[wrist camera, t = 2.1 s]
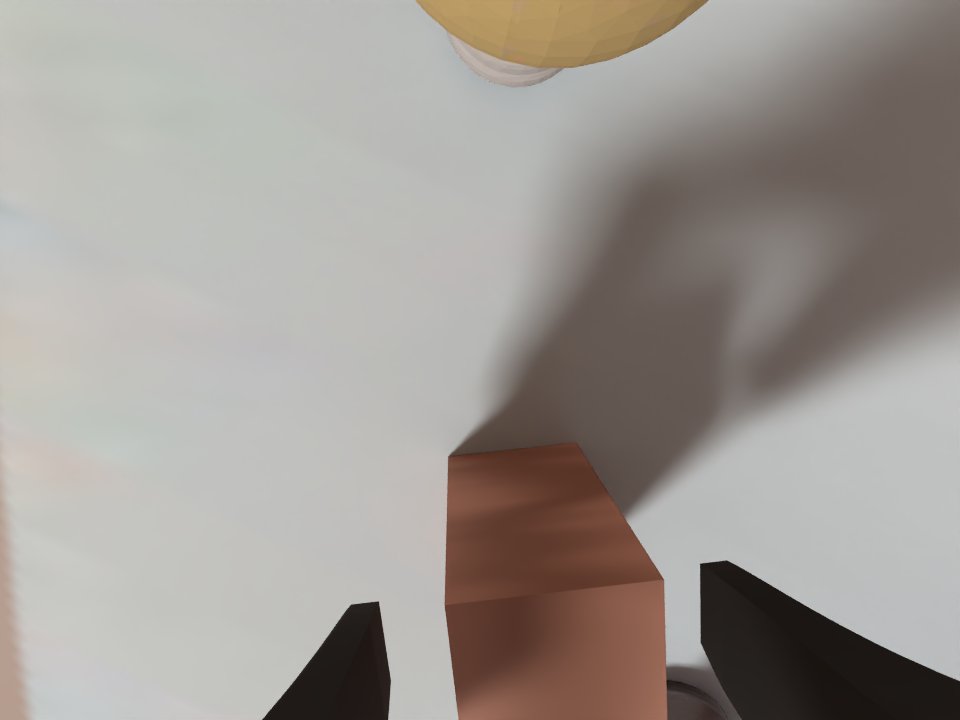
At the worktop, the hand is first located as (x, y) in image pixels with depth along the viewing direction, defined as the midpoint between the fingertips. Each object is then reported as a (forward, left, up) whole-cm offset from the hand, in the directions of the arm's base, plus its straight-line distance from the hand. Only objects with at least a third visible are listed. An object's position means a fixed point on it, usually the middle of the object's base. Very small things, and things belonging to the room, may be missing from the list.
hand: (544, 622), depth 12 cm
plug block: (0, 0, -5) cm, 5 cm away
